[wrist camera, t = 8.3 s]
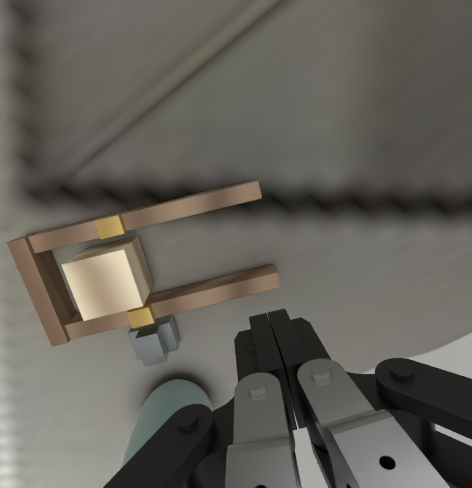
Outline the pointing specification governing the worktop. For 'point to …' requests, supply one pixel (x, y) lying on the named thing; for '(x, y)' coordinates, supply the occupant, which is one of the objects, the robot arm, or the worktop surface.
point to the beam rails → (156, 305)
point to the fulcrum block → (155, 340)
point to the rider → (109, 278)
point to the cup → (163, 410)
